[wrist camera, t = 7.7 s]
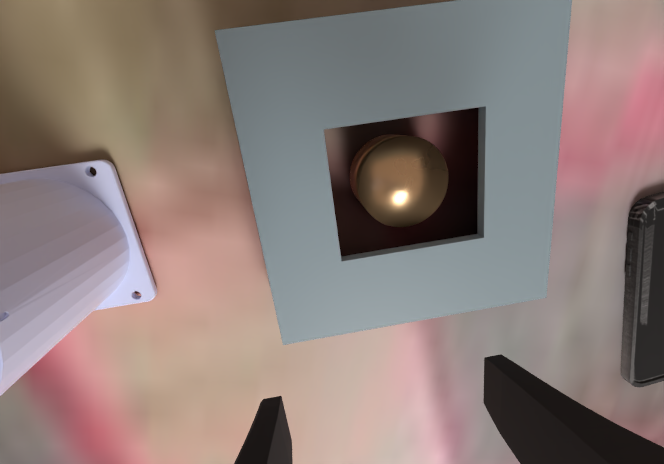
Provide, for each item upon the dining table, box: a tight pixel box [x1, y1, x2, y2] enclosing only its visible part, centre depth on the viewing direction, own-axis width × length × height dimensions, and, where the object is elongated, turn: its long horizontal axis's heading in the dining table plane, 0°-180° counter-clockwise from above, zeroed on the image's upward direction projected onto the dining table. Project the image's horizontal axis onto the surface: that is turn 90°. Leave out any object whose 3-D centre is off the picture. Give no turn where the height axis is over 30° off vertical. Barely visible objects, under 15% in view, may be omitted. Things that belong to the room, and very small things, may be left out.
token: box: [350, 134, 448, 227], centre depth 17 cm, size 4×4×3 cm
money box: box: [215, 0, 572, 345], centre depth 17 cm, size 14×14×4 cm
